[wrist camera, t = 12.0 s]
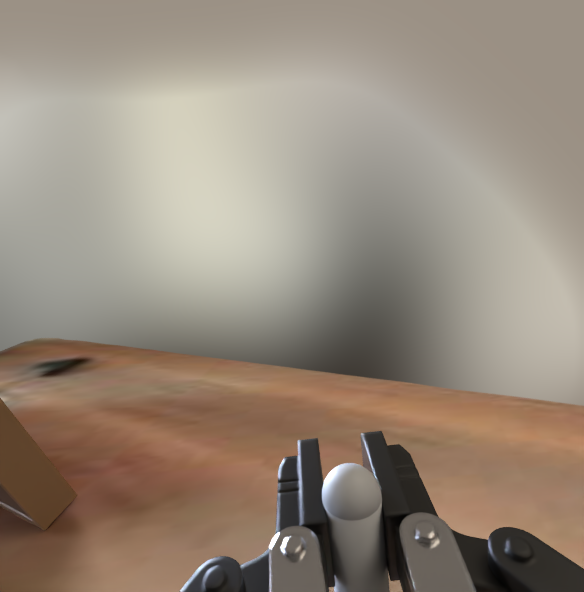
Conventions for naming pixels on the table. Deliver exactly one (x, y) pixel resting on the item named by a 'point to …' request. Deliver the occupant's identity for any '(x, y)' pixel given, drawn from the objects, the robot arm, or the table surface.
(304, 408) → the table surface
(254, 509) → the table surface
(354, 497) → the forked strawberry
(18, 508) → the photo frame
